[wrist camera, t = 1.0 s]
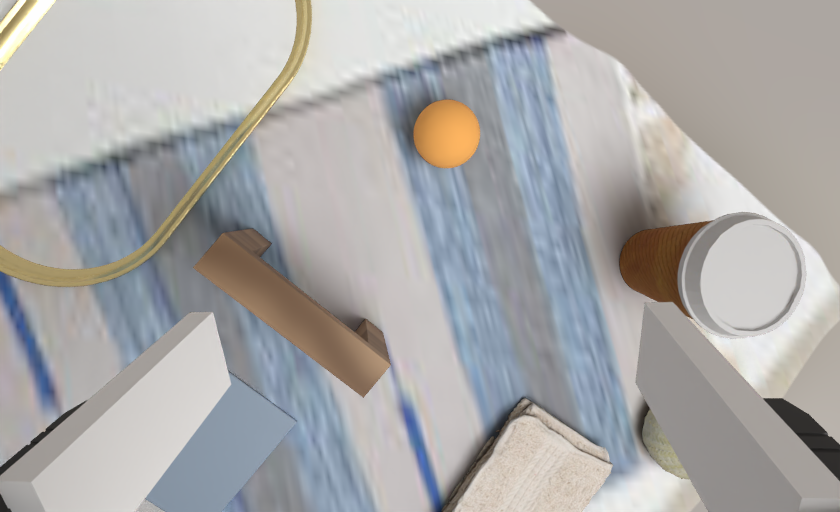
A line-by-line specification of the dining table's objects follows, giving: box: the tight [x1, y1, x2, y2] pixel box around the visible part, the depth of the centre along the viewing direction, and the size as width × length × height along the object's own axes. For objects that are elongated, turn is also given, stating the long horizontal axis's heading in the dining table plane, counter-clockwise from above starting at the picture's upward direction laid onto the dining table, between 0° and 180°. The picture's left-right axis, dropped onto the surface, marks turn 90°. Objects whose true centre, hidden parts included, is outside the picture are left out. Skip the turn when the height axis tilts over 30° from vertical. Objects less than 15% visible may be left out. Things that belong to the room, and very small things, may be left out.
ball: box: [414, 100, 480, 168], centre depth 38 cm, size 6×6×6 cm
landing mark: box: [145, 371, 297, 512], centre depth 40 cm, size 13×13×1 cm
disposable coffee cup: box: [620, 212, 806, 339], centre depth 39 cm, size 10×10×12 cm
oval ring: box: [0, 0, 312, 287], centre depth 37 cm, size 19×35×2 cm, turn 142°
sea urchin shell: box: [642, 409, 690, 480], centre depth 45 cm, size 9×8×8 cm
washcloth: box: [442, 398, 613, 512], centre depth 44 cm, size 12×18×3 cm, turn 146°
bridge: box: [193, 229, 391, 398], centre depth 36 cm, size 3×14×9 cm, turn 49°
